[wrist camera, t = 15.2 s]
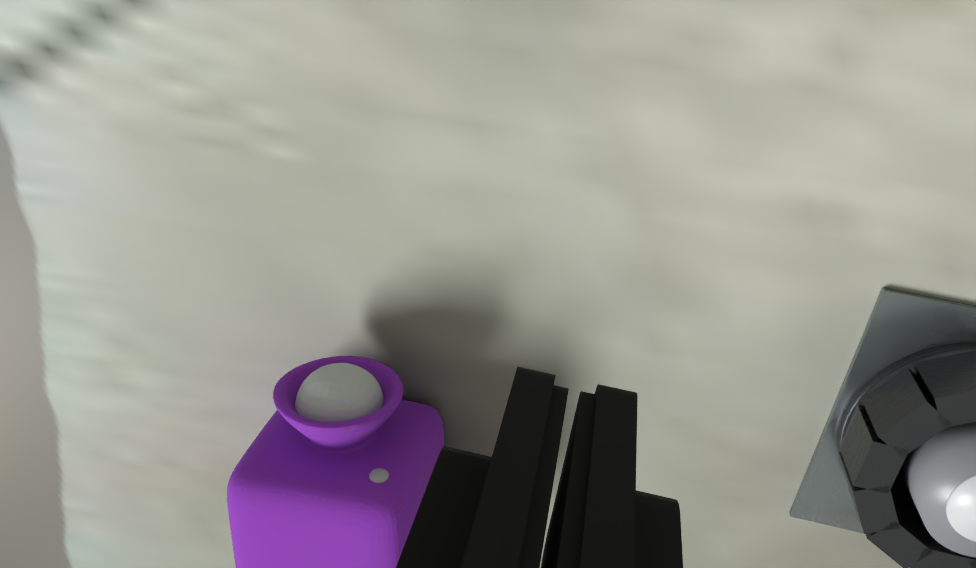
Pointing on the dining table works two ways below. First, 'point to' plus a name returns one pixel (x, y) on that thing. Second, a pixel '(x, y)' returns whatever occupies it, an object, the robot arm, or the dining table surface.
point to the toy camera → (334, 470)
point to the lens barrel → (893, 424)
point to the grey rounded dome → (946, 486)
